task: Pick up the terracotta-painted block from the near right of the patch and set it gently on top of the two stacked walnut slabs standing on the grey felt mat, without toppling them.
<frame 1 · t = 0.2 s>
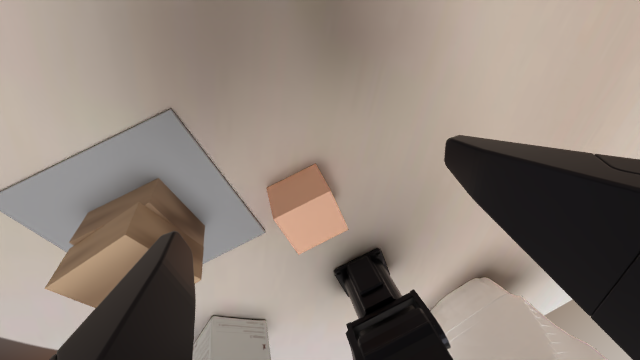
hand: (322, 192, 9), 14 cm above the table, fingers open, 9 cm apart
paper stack: (446, 307, 50), on the table
terracotta block: (301, 193, 26), on the table
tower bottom: (151, 219, 23), resting on felt mat, touching tower top
felt mat: (152, 217, 23), on the table
supplement box: (228, 332, 35), on the table
tower top: (142, 247, 20), point 3 cm above the table, touching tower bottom
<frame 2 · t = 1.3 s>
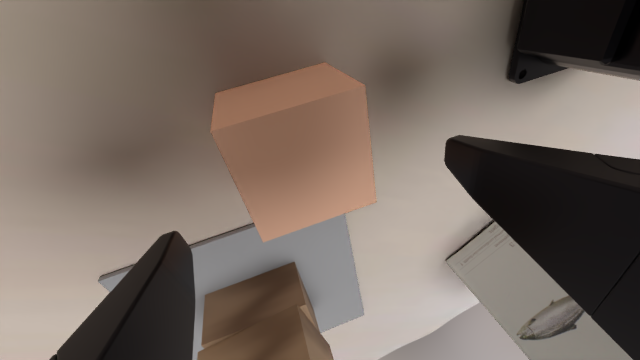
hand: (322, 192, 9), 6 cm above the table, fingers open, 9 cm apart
terracotta block: (286, 127, 13), on the table
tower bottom: (264, 302, 19), resting on felt mat, touching tower top
felt mat: (264, 298, 20), on the table
supplement box: (488, 245, 25), on the table
tower top: (270, 348, 17), point 3 cm above the table, touching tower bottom
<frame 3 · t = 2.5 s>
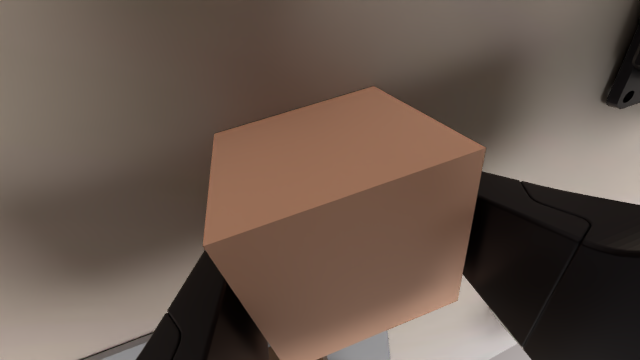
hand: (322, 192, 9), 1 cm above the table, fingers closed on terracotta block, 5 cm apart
terracotta block: (314, 176, 10), on the table, touching gripper
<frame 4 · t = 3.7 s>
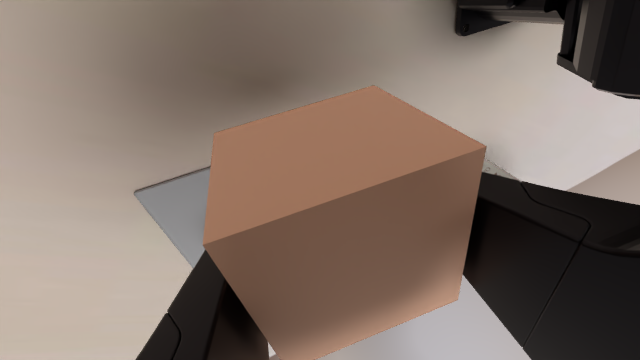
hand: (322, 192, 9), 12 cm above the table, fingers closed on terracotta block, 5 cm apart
terracotta block: (314, 175, 10), point 11 cm above the table, touching gripper
felt mat: (264, 226, 24), on the table
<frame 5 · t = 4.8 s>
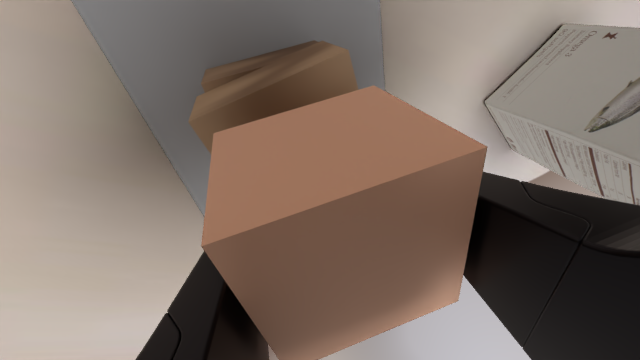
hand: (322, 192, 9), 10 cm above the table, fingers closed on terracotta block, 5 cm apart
terracotta block: (314, 175, 9), point 9 cm above the table, touching gripper
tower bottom: (277, 107, 16), resting on felt mat, touching tower top
felt mat: (276, 106, 16), on the table
supplement box: (530, 94, 22), on the table
tower top: (287, 127, 14), point 3 cm above the table, touching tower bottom
when the fingers open (9 cm above the table, at t = 5.4 s): terracotta block stays where it is, resting on tower top.
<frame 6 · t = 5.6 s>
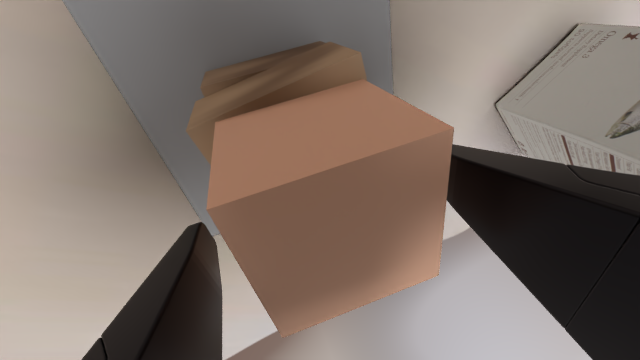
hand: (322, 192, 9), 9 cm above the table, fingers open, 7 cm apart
terracotta block: (308, 163, 10), point 7 cm above the table, touching tower top
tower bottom: (280, 111, 15), resting on felt mat, touching tower top
felt mat: (279, 110, 16), on the table
supplement box: (542, 96, 21), on the table
tower top: (291, 133, 13), point 3 cm above the table, touching terracotta block, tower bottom
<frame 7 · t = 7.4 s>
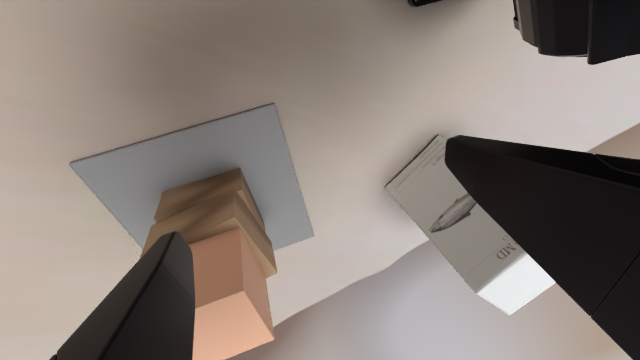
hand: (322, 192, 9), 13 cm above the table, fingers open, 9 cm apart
terracotta block: (215, 267, 17), point 7 cm above the table, touching tower top
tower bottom: (218, 208, 23), resting on felt mat, touching tower top
felt mat: (218, 205, 23), on the table
supplement box: (425, 177, 28), on the table
tower top: (216, 234, 20), point 3 cm above the table, touching terracotta block, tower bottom
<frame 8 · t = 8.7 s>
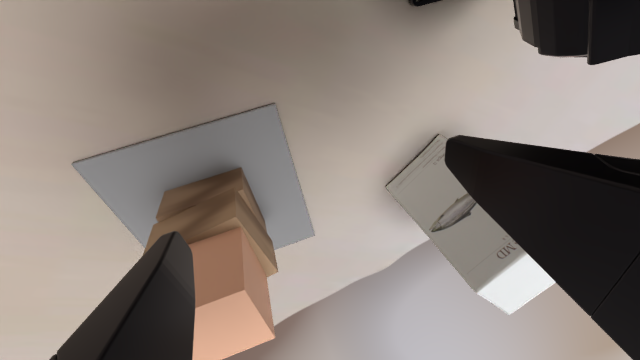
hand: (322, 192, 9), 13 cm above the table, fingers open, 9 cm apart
terracotta block: (217, 266, 18), point 7 cm above the table, touching tower top
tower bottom: (219, 207, 23), resting on felt mat, touching tower top
felt mat: (219, 205, 23), on the table
supplement box: (426, 176, 28), on the table
tower top: (218, 233, 20), point 3 cm above the table, touching terracotta block, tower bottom
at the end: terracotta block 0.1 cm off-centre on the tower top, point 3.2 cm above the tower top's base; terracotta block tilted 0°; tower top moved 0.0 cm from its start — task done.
